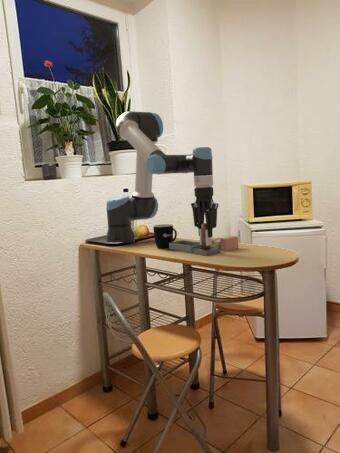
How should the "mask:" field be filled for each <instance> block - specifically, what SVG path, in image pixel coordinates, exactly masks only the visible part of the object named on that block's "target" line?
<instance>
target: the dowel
mask: <svg viewBox="0 0 340 453" xmlns="http://www.w3.org/2000/svg"><path fill="white" fill-rule="evenodd" d="M206 228H207V225H206V222H204V223H202V224H201V232H202V249H205V250H207V249H210V245H208V246H206V233H205V230H206Z"/></svg>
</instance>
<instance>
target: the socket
mask: <svg viewBox="0 0 340 453" xmlns="http://www.w3.org/2000/svg"><path fill="white" fill-rule="evenodd" d="M192 250H193V253H192V255H193V254H195V255H200V256H206V257H208V256H213V255H216V254H219V253H221V250H220V248H219V247H212V246H210V249H207V250H205V249H202V247H198V248H193V249H192Z"/></svg>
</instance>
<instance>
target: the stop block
mask: <svg viewBox="0 0 340 453" xmlns="http://www.w3.org/2000/svg"><path fill="white" fill-rule="evenodd" d="M220 238H221V239H220V245H221V250H220V252H221V251H222V252H229V251H233V250H237V249H239V236H238V235H237V236H235V235H231V236H227V237H220Z"/></svg>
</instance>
